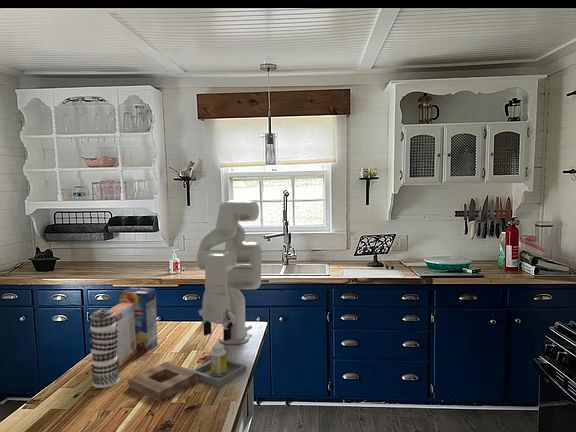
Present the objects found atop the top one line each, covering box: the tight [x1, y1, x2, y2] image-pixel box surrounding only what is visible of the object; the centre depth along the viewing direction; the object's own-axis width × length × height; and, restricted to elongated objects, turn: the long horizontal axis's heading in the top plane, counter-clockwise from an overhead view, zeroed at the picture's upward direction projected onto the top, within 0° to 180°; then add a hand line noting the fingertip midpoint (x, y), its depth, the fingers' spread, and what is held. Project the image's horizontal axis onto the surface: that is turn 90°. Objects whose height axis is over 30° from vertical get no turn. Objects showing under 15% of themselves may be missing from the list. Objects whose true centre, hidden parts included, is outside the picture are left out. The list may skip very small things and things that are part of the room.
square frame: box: [191, 358, 248, 388], centre depth 149 cm, size 14×14×2 cm
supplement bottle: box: [209, 343, 228, 378], centre depth 148 cm, size 6×6×10 cm
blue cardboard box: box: [118, 287, 158, 353], centre depth 172 cm, size 12×8×24 cm, turn 77°
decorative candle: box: [87, 308, 120, 389], centre depth 143 cm, size 9×9×25 cm
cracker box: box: [110, 302, 138, 369], centre depth 160 cm, size 14×6×21 cm, turn 173°
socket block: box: [127, 361, 199, 403], centre depth 141 cm, size 16×16×3 cm
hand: (217, 337), depth 147 cm, fingers open, 9 cm apart
